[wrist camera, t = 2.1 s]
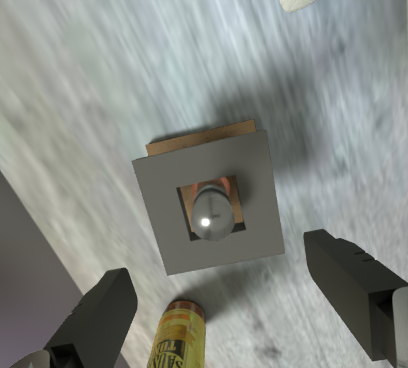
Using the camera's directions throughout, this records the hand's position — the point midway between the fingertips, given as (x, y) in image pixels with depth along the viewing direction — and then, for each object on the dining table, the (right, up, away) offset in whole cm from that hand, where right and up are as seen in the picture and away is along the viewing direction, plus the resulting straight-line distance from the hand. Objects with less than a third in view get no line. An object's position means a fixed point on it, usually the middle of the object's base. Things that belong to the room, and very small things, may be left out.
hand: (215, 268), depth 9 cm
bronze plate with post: (0, +4, +16) cm, 16 cm away
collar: (0, +2, +9) cm, 9 cm away
